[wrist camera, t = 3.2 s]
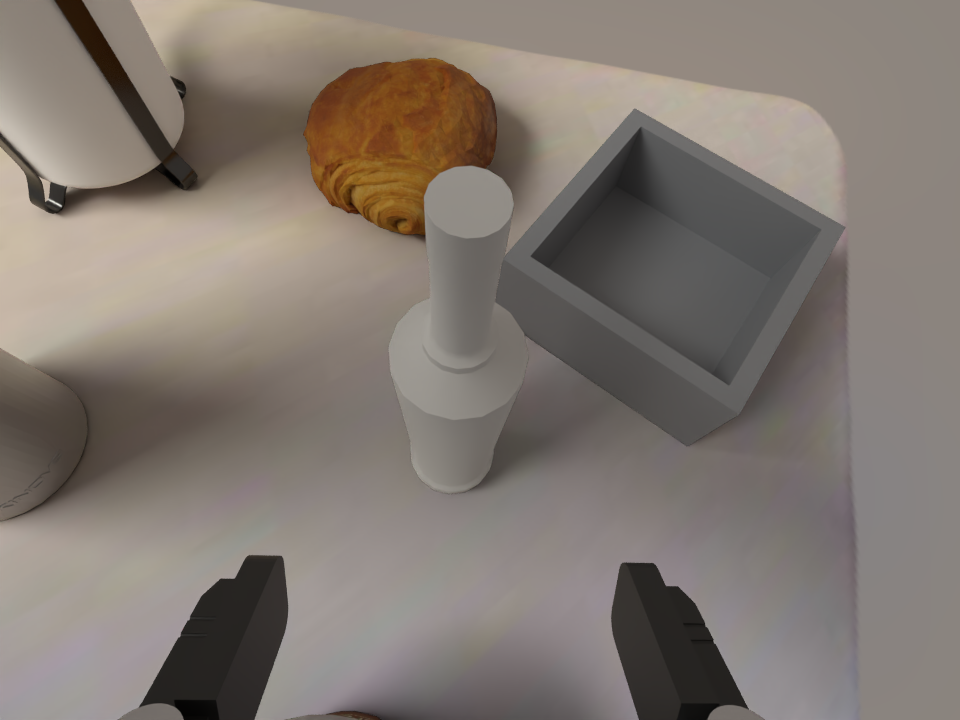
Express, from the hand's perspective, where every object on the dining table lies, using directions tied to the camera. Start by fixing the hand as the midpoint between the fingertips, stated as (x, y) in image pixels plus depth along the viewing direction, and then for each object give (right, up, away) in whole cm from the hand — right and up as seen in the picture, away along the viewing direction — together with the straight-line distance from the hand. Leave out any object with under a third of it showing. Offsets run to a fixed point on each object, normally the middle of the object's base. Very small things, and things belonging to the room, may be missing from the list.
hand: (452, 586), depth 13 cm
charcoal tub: (+13, +10, +28) cm, 32 cm away
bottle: (-1, -1, +22) cm, 23 cm away
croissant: (-6, +21, +32) cm, 39 cm away
